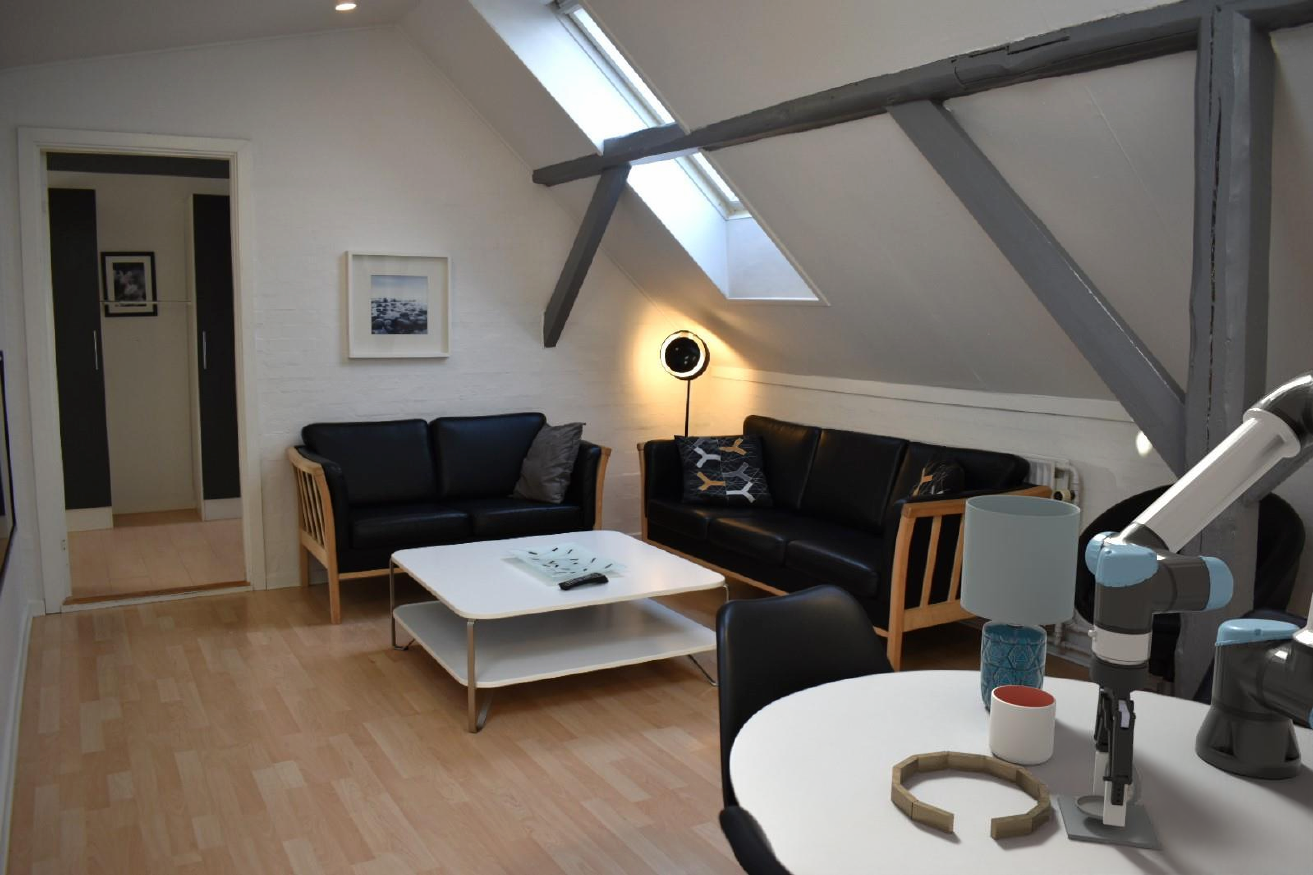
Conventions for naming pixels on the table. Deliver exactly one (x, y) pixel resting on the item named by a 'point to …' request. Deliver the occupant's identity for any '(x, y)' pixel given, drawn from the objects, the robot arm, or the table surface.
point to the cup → (1022, 724)
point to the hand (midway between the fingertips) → (1108, 809)
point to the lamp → (1018, 581)
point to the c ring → (971, 763)
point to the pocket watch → (1095, 803)
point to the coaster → (1109, 826)
